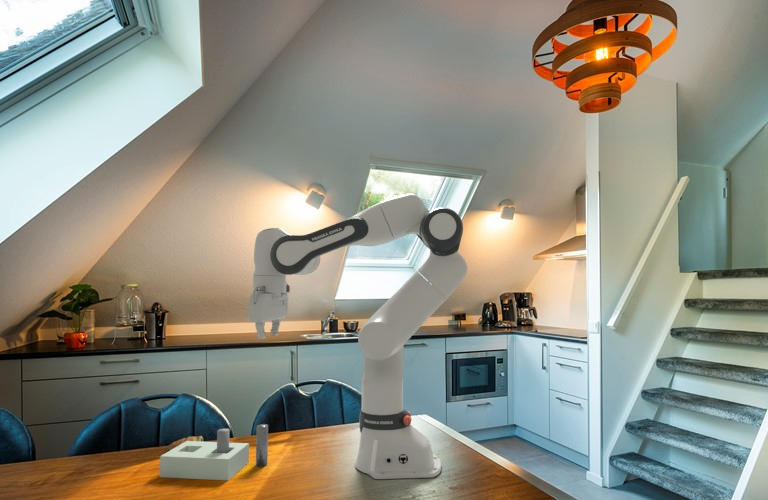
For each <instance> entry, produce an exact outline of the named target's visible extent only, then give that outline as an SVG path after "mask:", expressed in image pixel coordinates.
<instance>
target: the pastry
mask: <svg viewBox="0 0 768 500" xmlns="http://www.w3.org/2000/svg"><path fill="white" fill-rule="evenodd" d="M186 441H202V442H204V437H203V436H202V435H198V436H188V437H183V438H181V439H178V440H176V441H173V442H172V443H171V444H168V446H167V447H168V448H167V449H168V451H170V450H172V449H174V448H175V447H177V446H179V445H180V444H182V443H184V442H186Z"/></svg>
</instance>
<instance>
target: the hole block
mask: <svg viewBox="0 0 768 500" xmlns="http://www.w3.org/2000/svg"><path fill="white" fill-rule="evenodd" d="M216 434H217V435H216V441H203V442H202V441H186V442H184V443H182V444H180V445H179V446H177V447H175V448H174V449H172V450H170V451H169V450H168V451H167V452H165V453H164V454H163V453H162V454H161V455H160V456H159V478H167V479H168V478H169V479H170V478H171V479H173V478H174V479H190V480H214V481H230V480H231V479H232V478H233V477H234V476H235V475H236V474H237V473H239V472H240V471H241V470H242V469H243V468H244V467H245V466H247V465H248V464H249V462H250V443H248V442H245V443H244V442H230V428H219V429H218V430H217V431H216ZM246 464H247V465H246Z"/></svg>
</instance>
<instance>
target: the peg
mask: <svg viewBox="0 0 768 500" xmlns="http://www.w3.org/2000/svg"><path fill="white" fill-rule="evenodd" d="M255 432H256V434H255V437H256V438H255V441H256V442H255V444H256V445H255V466H256V467H259V468H260V467H261V468H262V467H266V466H268V456H269V455H268V454H269V453H268V452H269V451H268V450H269V447H268V446H269V424H267V423H266V424H265V423H262V424H261V423H260V424H258V425H256V431H255Z"/></svg>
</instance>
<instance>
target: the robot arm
mask: <svg viewBox="0 0 768 500" xmlns="http://www.w3.org/2000/svg"><path fill="white" fill-rule="evenodd" d="M412 234H414V235H416V236H417V237H418V238H419V240H420V241H422V244H424V246H425V247H427V248H428V249H429V255H428V257H427V259H426V261H425V262H424V263H423V264H422V265H421V266H420V267H419V268H418V269H417V271H415V272H414V273H413V275H412V276H410V277H409V279H408V280H407V281H406V282H404V284H403V285H402V286H401V287H400V288H399V289H398V290H397V291H396V292H395V293H394V294H393V295H392V296H391V297H389V298H388V300H386V301H385V303H384V304H382V305H381V306H380V307H379V308H378V309H377V310H376V312H374V313H373V314H372V315H371V317H369V318H368V319H367V320H366V321H365V322H364V323H363V325H362V326H361V327H360V329H359V331H358V335H357V339H358V340H357V341H358V346H359V349H360V351H361V353H362V354H363V355H364V356H363V365H362V377H361V409H360V411H359V418H358V419H359V432H360V437H359V438H360V439H359V447H358V453H357V457H356V461H355V464H354V466H355V468H356V469H357V470H358V471H360V472H362V473H364V474H367V475H369V476H370V477H371V478H372V479H376V480H387V479H388V480H390V479H393V480H395V479H417V478H419V479H422V478H424V479H425V478H435V477H436V476H438V475H439V474H440V473H441V472H442V461H441V458H439V457H438V455H435V454H433V449H432V444H431V442H430V439H428V437H427V436H426V435H424V434H423V433H422V432H420V431H419V430H418V429H417V428H416V427H414V426H413V425H412V424H411V423H412V415H411V412H410V410H408V411H407V410H405V409H404V398H403V397H404V389H403V388H404V385H403V384H404V348H405V344H406V343H407V342H408V341H409V340H410V339H411V338H412V336H413V335H414V334H415V333H416V332H417V331H418V330H419V329H420V328H421V327H422V326H423V324H425V323H426V322H427V321H428V319H429V318H430V317H431V316H432V315H433V314H434V313H435V312H436V311H437V310H438V309H439V308H440V307H441V306H442V305H443V304H444V302H446V301H447V299H449V297H450V296H451V295H452V294H453V293H454V292H455V291H456V290H457V288H458V287H459V285H460V284H461V282H462V281H463V280H464V278H465V276H466V275H467V273H468V265H467V262H466V260H465V258H464V257H463V255H461V254H460V253H459V248H460V244H461V241H462V237H463V234H464V224H463V221H462V219H461V217H460V215H459V214H458V213H457V211H455V210H453V209H450V208H448V207H435V208H434V209H432V210H429V209H428V208H427V207H426V204H425V203H424V201H423V199H422V198H420V197H419V196H418V195H416V194H414V193H406V194H402V195H398V196H394V197H390V198H388V199H386V200H383V201H380V202H378V203H375V204H373V205H371V206H369V207H367V208H365V209H363V210H361V211H359V212H358V213H356V214H354V215H352V216H350V217H348V218H346V219H344V220H342V221H340V222H336V223H334V224H331V225H329V226H326V227H324V228H320V229H318V230H316V231H314V232H310V233H307V234H304V235H301V234H300V235H297V234H296V235H295V234H294V235H293V234H290V233H288V232H287V231H286V230H285V229H283V228H281V227H280V228H279V227H274V228H273V227H271V228H266V229H263V230H261V231H259V232H258V233H257V235H256V238H255V242H254V250H253V263H254V272H253V277H252V280H253V281H252V293H251V294H250V297H249V299H248V310H247V319H248V322H249V323H255V324H254V326H255V330H256V334H257V335H256V339H258V340H263V339H266V337H267V336H266V334H267V332H266V331H265V326H266V322H270V321H271V324H272V325H271V328H270V336H271V337H272V336H274V337H275V336H278V335H279V328H280V326H281V320H282V319H286V317H287V314H288V311H289V310H288V307H289V294H290V293H291V287H290V285H289V284H288V282H287V276H292V275H298V276H299V275H300V276H305V275H306V276H307V275H309V274H312V273H314V272H315V271H316V270H317V268H318V267H319V265H320V262H321V256H323V255H326V254H328V253H331V252H333V251H337V250H339V249H343V248H346V247H350V246H362V247H376V246H380V245H385V244H387V243H390V242H392V241H395V240H397V239H399V238H402V237H405V236H409V235H412Z"/></svg>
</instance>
